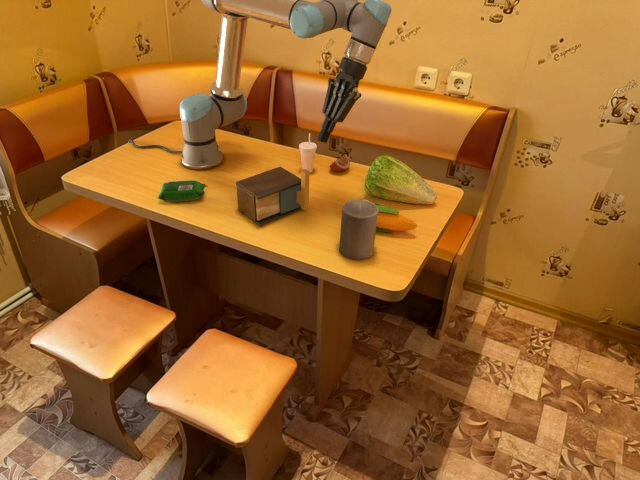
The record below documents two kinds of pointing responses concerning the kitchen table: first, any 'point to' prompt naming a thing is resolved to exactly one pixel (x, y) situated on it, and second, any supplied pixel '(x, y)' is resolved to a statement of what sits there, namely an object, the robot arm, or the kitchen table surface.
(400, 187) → the lettuce
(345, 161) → the fruit slice
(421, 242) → the kitchen table surface
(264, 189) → the box
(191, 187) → the snack package
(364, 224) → the pillar candle
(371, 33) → the robot arm
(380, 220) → the corn
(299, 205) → the sliding door
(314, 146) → the smoothie
